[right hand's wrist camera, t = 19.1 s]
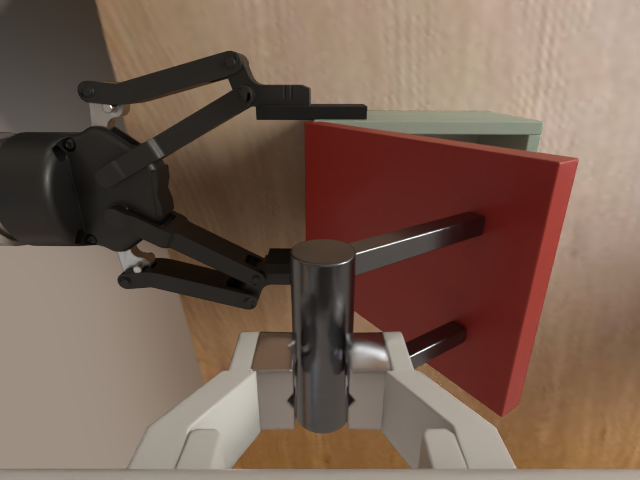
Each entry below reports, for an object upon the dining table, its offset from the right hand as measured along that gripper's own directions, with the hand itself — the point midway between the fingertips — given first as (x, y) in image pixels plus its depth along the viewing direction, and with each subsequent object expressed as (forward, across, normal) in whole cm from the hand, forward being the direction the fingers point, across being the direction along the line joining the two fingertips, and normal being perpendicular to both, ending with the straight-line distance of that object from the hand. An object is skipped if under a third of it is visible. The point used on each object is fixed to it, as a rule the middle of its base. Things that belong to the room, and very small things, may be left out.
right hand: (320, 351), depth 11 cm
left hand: (+17, -3, 0) cm, 17 cm away
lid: (+9, -4, 0) cm, 9 cm away
